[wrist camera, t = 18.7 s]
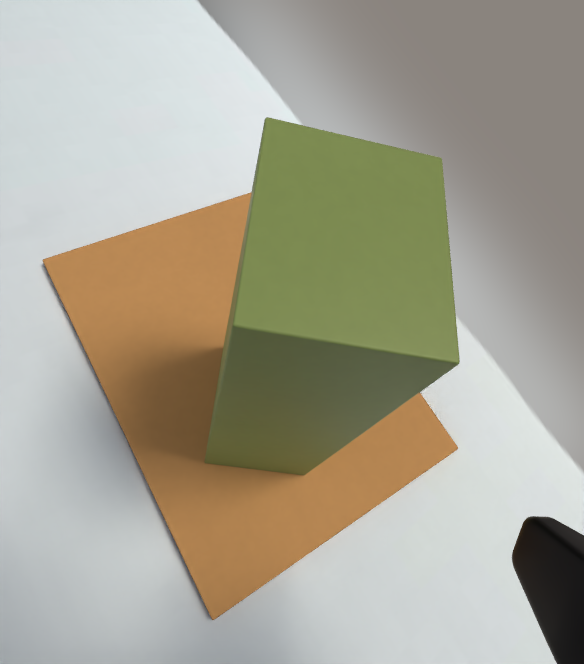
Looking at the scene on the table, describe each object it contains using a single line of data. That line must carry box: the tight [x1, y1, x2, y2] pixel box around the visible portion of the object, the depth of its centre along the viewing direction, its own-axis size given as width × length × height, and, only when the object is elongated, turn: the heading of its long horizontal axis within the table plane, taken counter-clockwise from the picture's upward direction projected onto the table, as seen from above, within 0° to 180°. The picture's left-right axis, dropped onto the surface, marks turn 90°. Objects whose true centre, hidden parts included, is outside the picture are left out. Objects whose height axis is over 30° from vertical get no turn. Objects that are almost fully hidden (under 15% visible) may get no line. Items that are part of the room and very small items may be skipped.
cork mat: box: [43, 192, 458, 620], centre depth 21 cm, size 12×16×1 cm
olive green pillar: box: [205, 117, 460, 475], centre depth 14 cm, size 5×4×12 cm
